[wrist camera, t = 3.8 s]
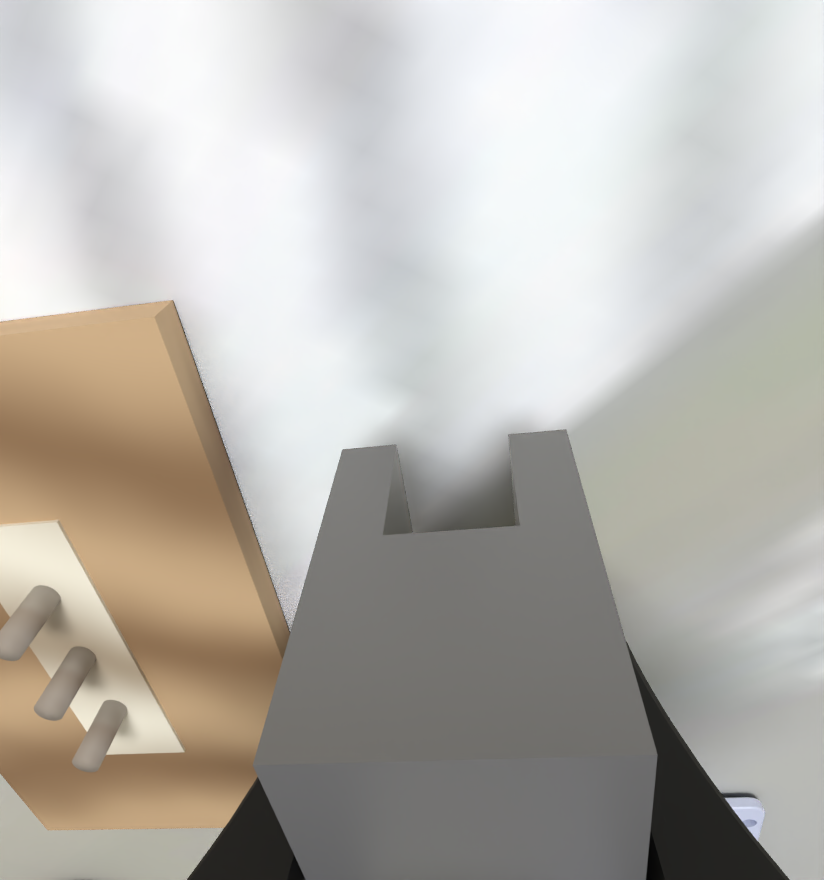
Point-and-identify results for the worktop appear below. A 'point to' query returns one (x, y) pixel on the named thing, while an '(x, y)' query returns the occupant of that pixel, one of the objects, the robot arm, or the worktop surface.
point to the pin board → (125, 581)
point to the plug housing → (459, 691)
